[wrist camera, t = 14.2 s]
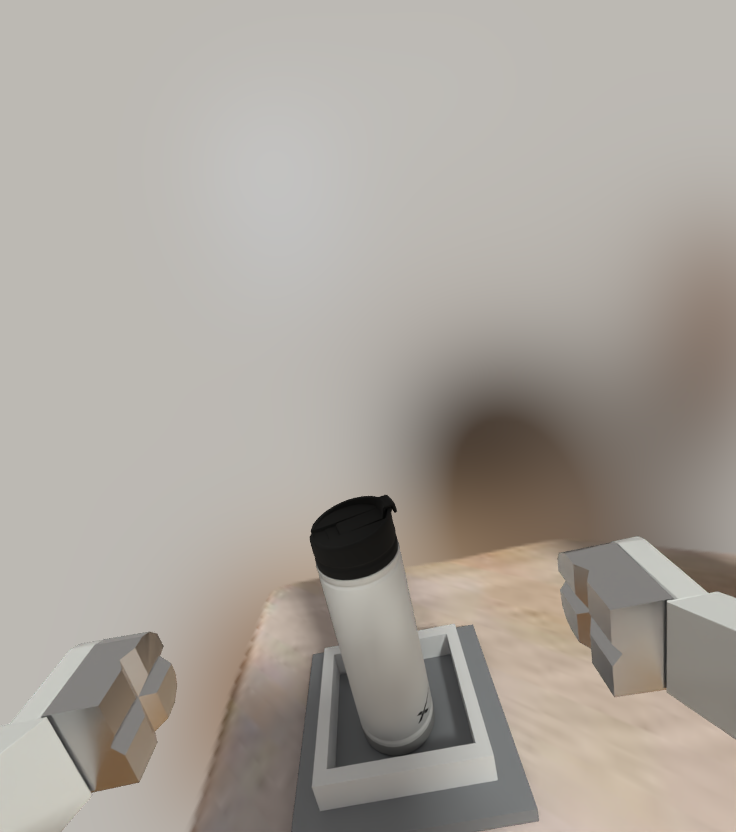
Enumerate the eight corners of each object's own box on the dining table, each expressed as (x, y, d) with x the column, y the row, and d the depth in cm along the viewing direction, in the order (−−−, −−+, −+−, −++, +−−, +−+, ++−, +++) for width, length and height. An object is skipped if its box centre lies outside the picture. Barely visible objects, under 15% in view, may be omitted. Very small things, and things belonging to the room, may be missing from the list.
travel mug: (451, 735, 33) (408, 517, 27) (374, 772, 32) (311, 550, 26) (421, 672, 39) (380, 482, 33) (354, 700, 37) (300, 507, 32)
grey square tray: (474, 633, 43) (469, 605, 42) (539, 820, 28) (534, 783, 27) (315, 663, 44) (307, 635, 43) (293, 862, 28) (279, 827, 27)
